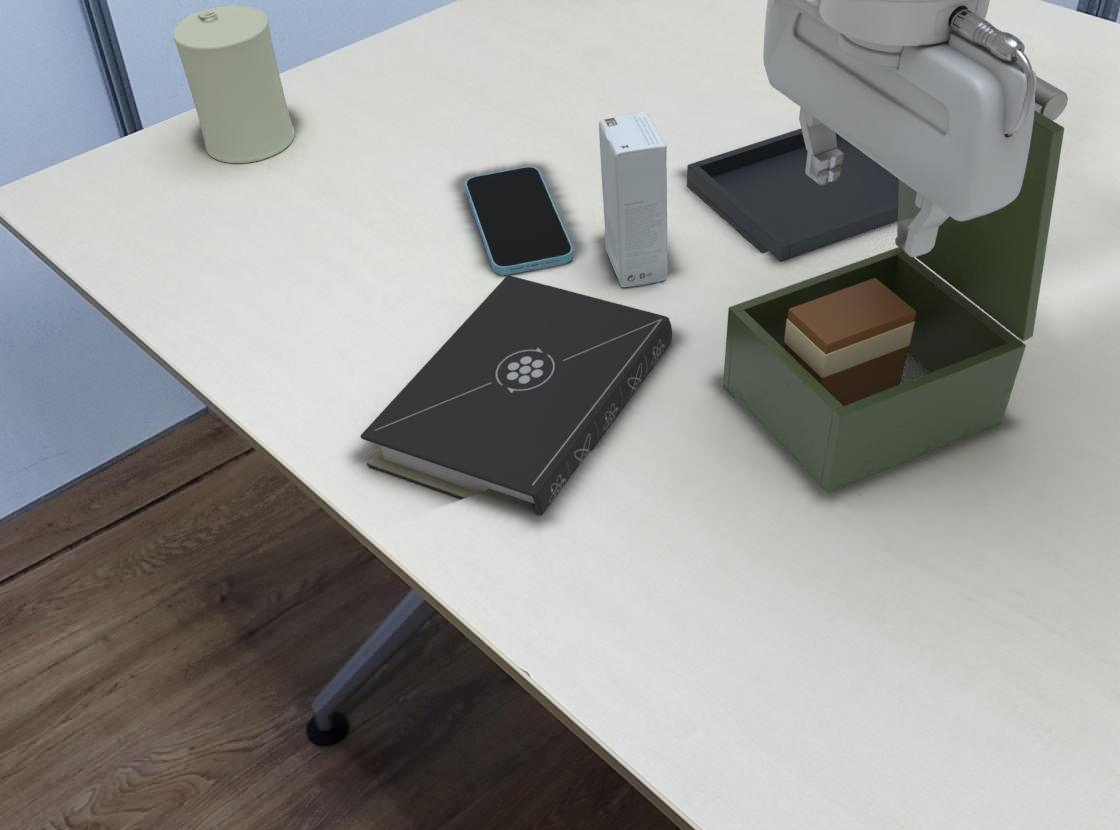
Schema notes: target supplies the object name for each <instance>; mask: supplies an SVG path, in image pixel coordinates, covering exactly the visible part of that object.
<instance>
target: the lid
mask: <svg viewBox="0 0 1120 830" xmlns="http://www.w3.org/2000/svg"><path fill="white" fill-rule="evenodd" d="M1036 77H1037V84H1036V90H1035V110H1034V120H1033V128H1032V135H1031V141H1030V148H1029V154H1028V159H1027V164H1026V169H1025V174H1024V179H1023V183H1022V187H1021V190H1020V192H1019V195H1018V196H1017V197H1016V198H1015V200H1013V201H1012V202H1011V203H1009V204H1008V205H1006V206H1005V207H1003V208H1001V209H999V210H997V211H994V212H992V213H989V214H986V215H983V216H980V217H977V218H974V219H971V220H967V221H957V220H955V219H953V218H952V217H950V216H949V217H948V218H947V219H946V220H945V221H944V222H943V223H942V224H941V225H940V226H939V228H938V232H937V236H936V241H935V245H934V247H933V248H932V250H931V251H930V252H928V253H926V254H923V255H920V256H917V257H915V259H916V260H918V261H919V262H920V263H921V264H923V265H924V266H925V267H927V268H928V269H929V270H930V271H932V272H933V273H934V274H936V275H937V276H938V277H939V278H941V279H942V280H943V281H944V282H946V283H947V284H948V285H950V286H951V287H952V288H953V289H955V290H956V291H957V292H958V293H960V294H961V295H962V296H964V297H965V298H966V299H967V300H969V301H970V302H971V303H973V304H974V305H975V306H976V307H978V308H979V309H980V310H981V311H983V312H984V313H985V314H987V315H988V316H989V317H990V318H992V319H993V320H994V321H996V322H997V323H998V324H999V325H1001V326H1002V327H1003V328H1004V329H1006V330H1007V331H1008V332H1010V333H1011V334H1012V335H1013V336H1015V337H1016V338H1017V339H1019V340H1020V341H1021V342H1025V341H1027V340H1029V339H1030V338H1032V337H1033V336H1034V331H1035V326H1036V325H1035V324H1036V317H1037V312H1038V307H1039V306H1038V305H1039V298H1040V291H1041V284H1042V279H1043V271H1044V265H1045V259H1046V252H1047V246H1048V239H1049V233H1050V226H1051V219H1052V212H1053V207H1054V199H1055V193H1056V186H1057V180H1058V179H1057V178H1058V172H1059V167H1060V160H1061V153H1062V148H1063V147H1062V146H1063V140H1064V134H1065V133H1064V132H1065V127H1064V126H1062V125H1060V124H1059V123H1058V122H1056V121H1055V120H1056V119H1058V118H1059V117H1060V116H1061V115H1062V114H1063V113H1064V110H1065V109H1066V107H1067V105H1068V102H1069V101H1068V100H1069V98H1068V94H1067V93H1066V92H1065V91H1064V90H1062V89H1060V88H1058V87H1056V86H1054V85H1053V84H1051V83H1050V82H1048V81H1046V80H1045V79H1043V78H1042V77H1041V78H1040V77H1039V76H1037V75H1036ZM916 195H917V192H916V191H915V190H913V189H912V188H911V187H909V186H908V185H907V184H905V183H904V182H903V181H901V180H900V179H899V189H898V221H897V227H896V228H897V229H898V224H899V221H902V220H905V219H908V218H914V216H916V215H917V214H918V213H919V212H920V211H921V208H919V207H917V206H916V204H915V200H916ZM897 229H896V230H897ZM897 236H898V234H897V233H896V237H897Z"/></svg>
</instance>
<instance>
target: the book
mask: <svg viewBox="0 0 1120 830" xmlns="http://www.w3.org/2000/svg"><path fill="white" fill-rule="evenodd" d="M672 341H673V328H672V322H671V320H670V317H668V316H666V315H663V314H659V313H655V312H652V311H647V310H644V309H639V308H636V307H632V306H629V305H624V304H621V303H617V302H612V301H609V300H605V299H602V298H599V297H598V298H597V297H593V296H590V295H586V294H582V293H578V292H576V291H571V290H567V289H563V288H560V287H555V286H552V285H548V284H544V283H541V282H536V281H533V280H530V279H529V280H528V279H526V278H521V277H517V276H513V275H511V274H508V275H506V276H505V277H504V278H503V279H502V281H501V282H500V283H499V284H498V285H497V286H496V287H495V288H494V289H493V290H492V292H490V293H489V294H488V296H487V297H485V299H484V300H483V301H482V302H481V303H480V304H479V305H478V307H477V308H475V310H474V311H473V312H472V313H471V314H470V316H468V318H467V319H465V321H464V322H463V323H462V324H461V325H460V326H459V327H458V328H457V329H456V331H455V332H453V334H452V335H451V336H450V337H449V338H448V339H447V341H446V342H445V343H444V344H443V345H442V346H441V347H440V348H439V349H438V350H437V351H436V352H435V353H434V355H433V356H432V357H431V358H430V359H429V360H428V361H427V362H426V363H425V364H424V366H423V367H422V368H420V369H419V371H418V372H417V373H416V374H415V375H414V376H413V378H412V379H411V380H410V381H409V382H408V383H407V384H406V385H405V386H404V387H403V388H402V390H401V391H399V392H398V394H397V395H396V396H395V397H394V398H393V399H392V400H391V401H390V403H388V404H387V406H386V407H385V408H383V410H382V411H381V412H380V414H379V415H378V416H377V417H376V418H375V419H374V420H373V421H372V422H371V423H370V424H369V425H368V427H367V428H366V429H365V430H364V431H363V432H361V434H360V438H361V440H363V441H366V442H369V443H372V444H375V445H378V446H380V448H379V449H378V450H377V451H376V452H375V453H374V454H373V456H372V457H371V458H370V459H369V460H368V461H367V463H366V465H367V466H368V467H369V468H372V469H373V470H374V469H375V470H378V471H379V472H383V473H386V474H389V475H392V476H395V477H398V478H400V479H403V480H406V481H409V482H412V483H415V484H417V485H420V486H423V487H426V488H429V489H431V490H435V491H438V492H439V493H440V492H441V493H444V494H447V495H449V496H452V497H455V498H458V499H461V500H464V499H467V498H470V497H472V496H474V495H477V494H480V493H483V492H485V491H488V490H493V491H496V492H499V493H502V494H504V495H507V496H510V497H513V498H516V499H519V500H521V501H525V502H528V503H530V504H533V505H534V506H535V516H543V515H544V513H545V512H546V510H547V509H548V508H549V507H550V505H551V504H552V502H553V501H554V500H555V498H556V497H557V495H558V494H559V493H560V491H561V490H562V489H563V487H564V486H565V485H566V484H567V482H568V481H569V479H570V478H571V477H572V475H573V474H574V473H575V471H576V470H577V469H578V468H579V466H580V465H581V463H582V462H583V460H584V459H585V458H586V456H587V455H588V454H589V452H592V451H593V450H594V448H595V447H596V446H597V444H598V443H599V441H600V440H601V439H602V437H603V436H604V434H605V433H606V432H607V430H608V429H609V428H610V426H611V425H612V423H613V422H614V421H615V419H616V418H617V417H618V415H619V414H620V413H621V411H622V410H623V409H624V408H625V406H626V404H627V403H628V402H629V400H631V398H632V396H633V395H634V394H635V392H637V389H638V388H639V387H640V385H641V384H642V383H643V381H644V380H645V379H646V377H647V376H648V374H649V373H650V372H651V370H652V369H653V367H655V365H656V363H657V362H658V361H659V359H660V358H661V357H662V355H663V354H664V352H666V350H667V348H668V347H669V346H670V345H671V343H672Z"/></svg>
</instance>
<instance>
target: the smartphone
mask: <svg viewBox="0 0 1120 830" xmlns="http://www.w3.org/2000/svg"><path fill="white" fill-rule="evenodd" d="M464 187H465V193H466V196H467V199H468V202H469V205H470V208H471V211H472V213H473V216H474V219H475V222H476V224H477V228H478V230H479V234H480V236H481V237H480V238H481V239H482V242H483V245H484V248H485V251H486V254H487V257H488V259H489V263H490V265H491V268H492V270H493V271H494V273H496V274H497V275H500V276H501V275H502V276H505V275H506V276H509V275H513V274H518V273H523V272H529V271H533V270H540V269H544V268H549V267H554V266H559V265H564V264H567V263H570V262H571V261H572V260H573V258H574V250H573V249H574V247H573V244H572V242H571V240H570V237H569V235H568V233H567V231H566V227H565V226H564V224H563V221H562V219H561V217H560V214H559V212H558V210H557V207H556V205H555V202H554V201H553V198H552V196H551V193H550V191H549V189H548V187H547V184H546V182H545V179H544V177H543V175H542V173H541V170H540V169H538V167H536V166H522V167H517V168H511V169H506V170H505V169H504V170H499V171H495V172H489V173H485V174H484V173H483V174H479V175H473V176H470V177H468V178H467V179H466V180H465V182H464Z"/></svg>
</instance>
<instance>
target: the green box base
mask: <svg viewBox="0 0 1120 830" xmlns="http://www.w3.org/2000/svg"><path fill="white" fill-rule="evenodd" d="M874 278H876V279H878V280H879V281H880V282H881V283H882V284H884V285H885V286H886V287H887V288H888V289H890V290H891V291H892V292H893V293H894V294H896V295H897V296H898V297H899V298H900V299H902V300H903V301H904V302H905V303H907V304H908V305H909V306H910V307H911V308H913V309H914V310H915V311H916V315H915V319H914V322H915V323H914V328H913V332H912V337H911V341H910V345H909V347H908V351H907V353H908V354H910V355H911V356H912V357H913V358H915V359H916V360H917V361H918V363H920V364H921V365H922V366H923V367H925V368H926V369H927V370H928V371H929V373H927V374H924V375H922V376H918V377H915V378H914V379H911V380H909V381H906V382H903V383H900V385H898V386H895V387H893V388H890V389H888V390H885V391H882V392H880V393H877V394H875V395H872V396H869V397H867V398H864V399H862V400H859V401H856V402H854V403H851V404H849V405H846V406H844V407H843V405H842V404H841V403H840V402H839V401H838V400H837V399H836V398H835V397H834V396H832V395H831V394H830V393H829V392H828V391H827V390H826V389H825V388H824V387H823V386H822V385H821V384H820V383H819V382H818V381H817V380H816V379H815V378H814V377H813V376H812V375H811V374H810V373H809V372H808V371H807V370H806V369H805V368H803V367H802V366H801V365H800V364H799V363H798V362H797V361H796V360H795V359H794V358H793V357H792V356H791V355H790V354H789V353H788V352H787V351H786V350H785V349H784V345H785V342H784V339H785V330H786V322H787V319H788V312H789V309H790V308H793V307H796V306H799V305H801V304H804V303H807V302H810V301H812V300H815V299H818V298H821V297H824V296H826V295H829V294H832V293H835V292H837V291H840V290H843V289H846V288H849V287H851V286H854V285H857V284H860V283H862V282H865V281H868V280H871V279H874ZM726 323H727V324H726V336H725V337H726V339H725V351H724V365H723V377H722V378H723V379H722V380H723V381H722V387H723V388H725V390H726V391H727V392H728V393H729V394H730V395H731V396H732V397H733V398H737V399H738V400H739V401H740V402H741V403H742V404H743V405H744V406H745V407H746V408H747V409H748V410H749V411H750V412H751V413H752V414H753V415H754V417H756V418H757V420H758V421H759V422H760V423H761V424H762V425H763V426H764V427H765V428H766V430H768V432H769V433H770V434H771V435H772V436H773V437H774V438H775V439H776V440H777V441H778V442H779V443H780V444H781V445H782V446H783V447H784V448H785V450H787V452H788V453H790V455H791V456H792V457H793V458H794V459H795V460H796V462H798V464H800V465H801V466H802V467H803V469H804V470H806V471H807V473H808V474H809V475H810V476H811V477H812V478H813V479H814V480H815V481H816V482H817V483H818V484H819V486H821V488H822V489H823V490H824V491H825V492H826V493H831V492H833V491H836V490H838V489H840V488H843V487H845V486H847V485H850V484H853V483H856V482H858V481H860V480H863V479H865V478H867V477H870V476H873V475H875V474H877V473H880V472H883V471H885V470H887V469H890V468H892V467H895V466H897V465H900V464H903V463H904V462H908V461H910V460H912V459H914V458H915V459H916V458H917V457H919V456H922V455H924V454H927V453H930V452H932V451H935V450H937V449H939V448H943V447H944V446H947V445H949V444H952V443H954V442H957V441H959V440H962V439H964V438H967V437H969V436H972V435H974V434H977V433H979V432H982V431H984V430H987V429H989V428H991V427H994V426H996V425H1000V424H1001V423H1003V421H1004V418H1005V415H1006V411H1007V408H1008V405H1009V402H1010V399H1011V395H1012V391H1013V390H1014V385H1015V382H1016V379H1017V376H1018V373H1019V369H1020V366H1021V363H1022V360H1023V357H1024V354H1025V351H1026V347H1027V345H1026V344H1025V343H1024V341H1022V340H1021V339H1019V338H1018V337H1017V336H1016V335H1014V334H1013V333H1012V332H1010V331H1009V330H1008V329H1007V328H1005V327H1004V326H1003V325H1002V324H1000V323H999V322H998V321H996V320H995V319H994V318H993V317H991V316H990V315H989V314H987V313H986V312H985V311H984V310H982V309H981V308H980V307H979V306H977V305H976V304H975V303H973V302H972V301H971V300H970V299H968V298H967V297H966V296H964V295H963V294H962V293H961V292H959V291H958V290H957V289H955V288H954V287H953V286H952V285H950V284H949V283H948V282H947V281H945V280H944V279H943V278H941V277H940V276H939V275H938V274H936V273H935V272H934V271H932V270H931V269H930V268H929V267H927V266H926V265H925V264H924V263H922V262H921V261H920V260H918V259H917V258H916V257H914V258H913V257H910V256H909V255H908V254H907V253H905V252H904V251H903V250H902V249H900V248H899V247H898V246H897V247H894V248H892V249H890V250H886V251H884V252H881V253H878V254H875V255H872V256H869V257H866V258H863V259H861V260H858V261H855V262H853V263H850V264H847V265H844V266H841V267H839V268H836V269H833V270H830V271H827V272H825V273H821V274H818V275H816V276H814V277H810V278H807V279H804V280H802V281H798V282H796V283H794V284H790V285H787V286H785V287H782V288H779V289H776V290H774V291H770V292H768V293H765V294H762V295H759V296H757V297H754V298H751V299H748V300H745V301H743V302H740V303H736V304H734V305H731V306H729V307H728V311H727V321H726Z"/></svg>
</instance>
